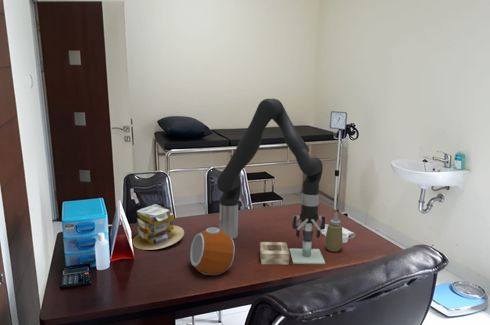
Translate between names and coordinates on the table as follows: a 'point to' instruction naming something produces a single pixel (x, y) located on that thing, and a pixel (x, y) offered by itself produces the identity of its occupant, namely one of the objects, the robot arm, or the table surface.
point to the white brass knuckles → (345, 233)
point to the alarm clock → (212, 251)
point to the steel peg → (307, 239)
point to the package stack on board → (156, 228)
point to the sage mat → (299, 259)
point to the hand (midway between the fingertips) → (307, 237)
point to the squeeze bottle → (334, 235)
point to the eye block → (274, 253)
